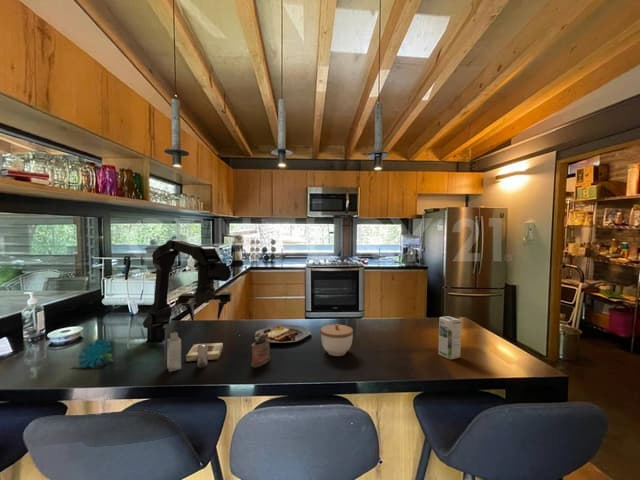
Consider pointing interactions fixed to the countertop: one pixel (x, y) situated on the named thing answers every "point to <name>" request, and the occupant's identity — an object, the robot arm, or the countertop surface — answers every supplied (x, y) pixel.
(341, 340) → the lidded bowl
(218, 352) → the socket block
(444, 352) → the syrup box
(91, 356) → the teal lumpy clump
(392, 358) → the countertop surface
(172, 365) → the square bit
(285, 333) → the food plate
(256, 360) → the lighter
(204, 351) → the round peg
